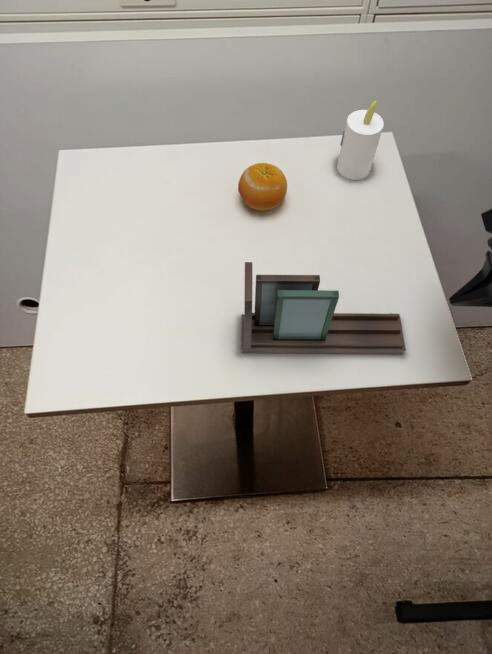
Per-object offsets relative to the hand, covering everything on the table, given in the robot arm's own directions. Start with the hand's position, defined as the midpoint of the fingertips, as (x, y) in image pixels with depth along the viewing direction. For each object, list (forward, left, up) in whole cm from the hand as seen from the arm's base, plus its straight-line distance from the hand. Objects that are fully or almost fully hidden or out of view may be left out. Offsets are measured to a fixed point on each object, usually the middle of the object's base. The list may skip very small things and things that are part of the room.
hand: (450, 302), depth 67 cm
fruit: (+25, -29, -13) cm, 40 cm away
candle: (+7, -38, -13) cm, 40 cm away
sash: (+19, 0, -11) cm, 22 cm away
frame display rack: (+16, -1, -13) cm, 20 cm away
